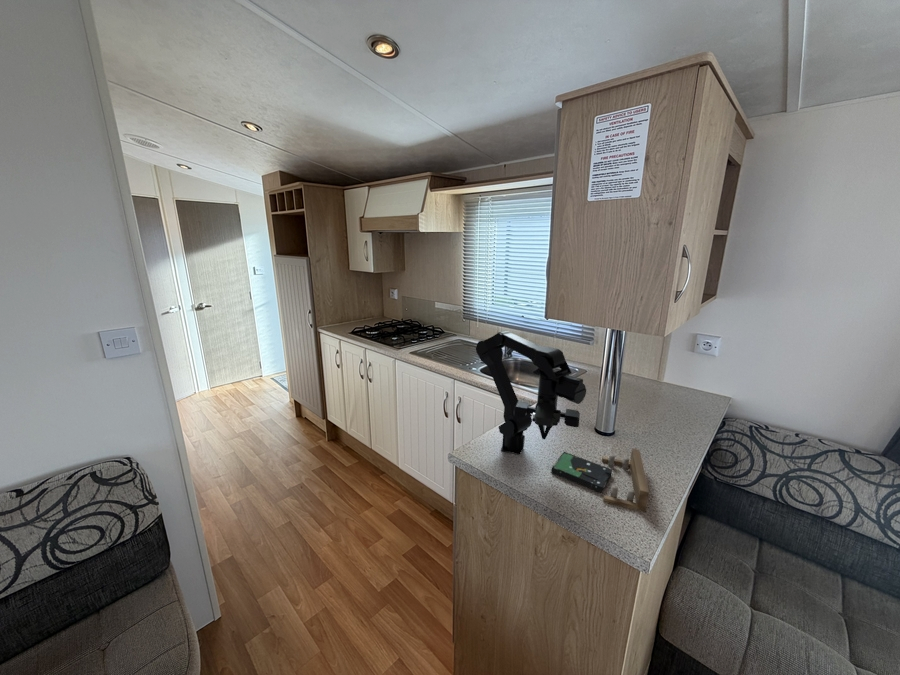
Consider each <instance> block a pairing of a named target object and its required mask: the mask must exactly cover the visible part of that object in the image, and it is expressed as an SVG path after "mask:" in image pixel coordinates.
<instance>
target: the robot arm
mask: <svg viewBox="0 0 900 675" xmlns="http://www.w3.org/2000/svg"><path fill="white" fill-rule="evenodd" d="M505 347H506V348H508V349H509V350H512V351H514V352H516V353H517V354H519V355H522V356H523V357H524V358H528V359H529V360H530V361H531V362H532V364H533V365H534V366H535V367H536V368H537V369H536V370H533V372H532V373H533V374H534V375H536V376H538V388H537V401H536V404H535V407H534V406H530V402H528V401H523V400H518V397H517V394H516V392H515V390H514V387H513V385H512V382H511V380H510V378H509V374H508V373H507V370H506V368H505V365H504V363H503V356H504V352H503V348H505ZM475 351H476V354H477V356H478V357H479V360H480V361H481V362H482V363H483V364H484V365H486V366H487V367H488V369H489V372H490V375H491V377H492V380H493V381H494V382H493V383H494V384H495V387H496V390H497V392H498V394H499V397H500V399H501V402H502V404H503V407H504V408H503V420H504V422H503V423H502V424H500V425H499V426H498V430H499V433H500V435H501V434H502V444H501V448H500V451H502V452H506V453H509V454H510V453H512V454H516V455H521V453H522V451H523V450H524V448H525V439H526V438H525V435H524V431H525V432H526V431H527V430H528V428H530V427H531V426H532V423H534V424H535V425H537V426H538V430H539V432H540V436H541V439H542V440H546V439H547V436H548V434H549V432H550V430H551V429H552V428H553V426H558V424H559V423H561V422H560V421H561V420H564V424H565V425H566V427H571V428H572V427H573V428H579V426H580V415H581V413H580V411H579V410H577V409H576V410H575V409H571V408H566V409H565V412H562V411H561V410H560V409H557V407H558V400H559V398H562V399H565V400H566V401H569V402H571V403H574V404H577V405H580V404H581V403H582V402H583V400H584V399H585V397H586V396H587V395H586V394H587V388H586V384H585V383H584V379H583V378H581V377H576V376H573V375H572V370H571V368H570V367H569V364H568V362H567V360H566V357H565V355H564V352H563V351H562V350H561V349H558V348H556V347H555V348H554V347H551V346H545V345H540V344H539V345H538V344H536V343H534V342H532V341H529V340H528V339H526V338H523V337H521V336H519V335H517V334H515V333H513V332H511V331H510V330H504V331H499V332H497V333H496V334H494V335H493V336H491V337H489V338H486V339H483V340H479V341H478V342H477V343H476V346H475ZM557 369H560V370H557ZM554 370H556V371H554Z"/></svg>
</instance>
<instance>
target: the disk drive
mask: <svg viewBox="0 0 900 675" xmlns="http://www.w3.org/2000/svg"><path fill="white" fill-rule="evenodd" d="M550 470H551V472H550V473H551V474H553V475H555V476H557V477H560V478H562V479H565V480H568V481H569V482H572V483H573V484H574V483H575V484H576V485H579V486H581V487H584V488H586V487H587V488H586V489H589V490H591V491H593V490H594V491H593V492H595V493H599V494H601V493H602V494H603V493H604V490H605V488H606V487H607V484H608V483H609V481H610V479H611V477H612V472H613V469H612V468H610V467H607V466H604V465H601V464H598V463H596V462H592V461H590V460H588V459H585V458H582V457H579V456H576V455H575V454H571V453H570V452H569V453H568V452H566V451H563V452H562V453H561V455H559V457H558V458H557V460H556V461H555V463H554V464H553V465H552V467H551V468H550Z"/></svg>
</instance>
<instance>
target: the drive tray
mask: <svg viewBox="0 0 900 675" xmlns="http://www.w3.org/2000/svg"><path fill="white" fill-rule="evenodd" d="M630 453H631V454H630V458H629V457H626V456H624V457H623V458H622V459H617V458H615V457H616V456H615V455H614V454H613V453H612V454H609V455H608V457H607V456H601V463H606V464H607V466H608V468H614V465H616V466H621V469H622V470H623V471H628V469H629V471H630V478H631V482H632V489H630V488H628V490H627V496H626V499H622V498H618V493H619V487H618V486H617V485H613V484H612V486H611V490H610V496H609V495H605V494H603V498H602V499H603V502H604V503H607V504H611V505H614V506H619V507H624V508H627V509H630V510H635V511H639V512H643V513H646V511H647V507H648V501H649V495H650V491H649V490H650V489H649V486H648V481H647V477H646V471H645V468H644V463H643V459H642V455H641V450H640V449H637V448H632V449H631V452H630ZM634 500H635V501H634Z"/></svg>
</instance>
